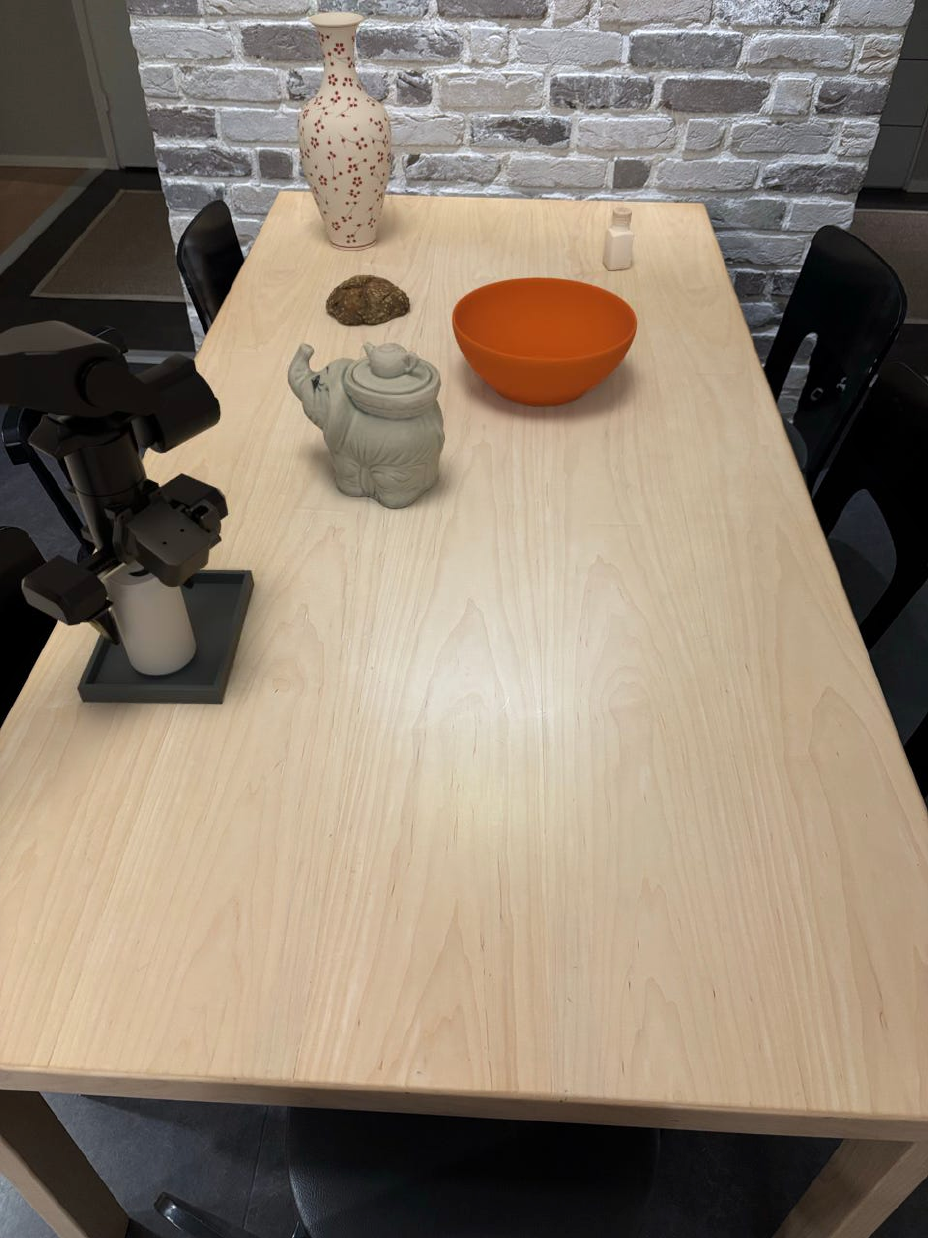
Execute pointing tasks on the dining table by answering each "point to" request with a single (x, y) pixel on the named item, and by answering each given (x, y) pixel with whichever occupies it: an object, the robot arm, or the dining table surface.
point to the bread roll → (367, 300)
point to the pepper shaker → (619, 240)
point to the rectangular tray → (205, 677)
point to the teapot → (375, 420)
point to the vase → (345, 140)
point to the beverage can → (150, 620)
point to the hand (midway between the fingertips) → (152, 614)
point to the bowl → (543, 337)
